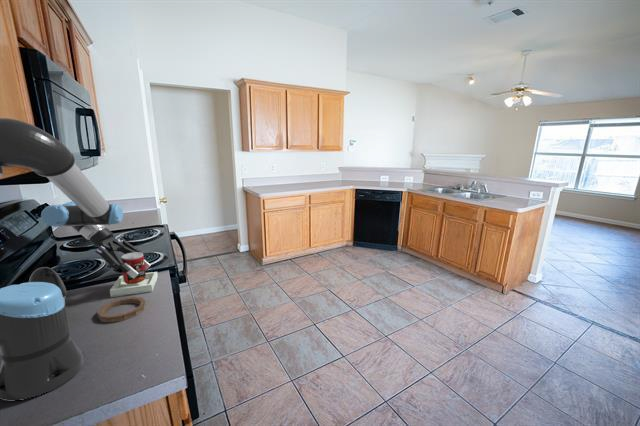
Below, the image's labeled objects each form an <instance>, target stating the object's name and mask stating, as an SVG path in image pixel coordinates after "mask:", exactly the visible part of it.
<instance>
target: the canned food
mask: <svg viewBox="0 0 640 426" xmlns="http://www.w3.org/2000/svg"><path fill="white" fill-rule="evenodd" d="M120 258H121V260H122V261H123V263H127V264H128V265H129V266H131V267H132V268H133V269H134V270H135V271H137V272H138V273H139V274H138V275H137V276H136V277H135V278H134V279H133V278H132V277H131V276H130V275H128V274H127V273H125V272H124V271H123V270H122V276H123V277H124V281H125V283H127V284H135V283H139V282H142V281H143V280H145V277H146V274H145V273H146V270H145V265H144V259H145V257H144V253H143V252H142V251H141V252H133V253H128V254H123V255H121V256H120Z"/></svg>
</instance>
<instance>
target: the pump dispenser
mask: <svg viewBox="0 0 640 426" xmlns="http://www.w3.org/2000/svg"><path fill="white" fill-rule="evenodd" d="M28 282H46V283H51V284H54V285H56V286H57V287H59V288H60V290H61V292H62V295H63V298H64V300H66V297H67V289H66V286H65V284H64V282H63V280H62V279H61V277H60V275H59V274H58V273H57V272H56V270H55V269H52V268H50V267H48V266H42V267H38V268H36V269H35V270H34V271H33V272H32V273H31V275H30V276H29V280H28Z"/></svg>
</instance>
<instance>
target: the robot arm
mask: <svg viewBox="0 0 640 426" xmlns="http://www.w3.org/2000/svg"><path fill="white" fill-rule="evenodd" d="M5 167H19V168H26V169H29V170H32V171H33V172H34V173H35V174H36V175H38V176H41V177H45V178H47V179H48V180H49V181H50V182H51V183H52V184H53V185H54V186H55V187H56V188H58V189H59V191H61V193H63V194H64V195H65V196H66V197H67V198H68V199H69V200H70V201H69V202H66V203H64V204H53V205H52V204H51V205H48V206H45V207H44V209H43V210H42V211H41V214H40V219H41V221H42V222H43V223H44V224H45V225H47V226H49V227H55V228H57V227H70V228H73V230H75V231H77V232H78V234H80V235H81V236H82V237H84V238H85V239H86V240H88V241H89V243H91V244H92V245H93V246H94V247H96V250H95V253H96V254H97V255H99V256H101V258H102V259H103V260H105V262H106V263H107V264H108V265H109V267H111V268H112V269H113V270H115V269H116V270H119V269H120V270H121V271H122V272H123V271H124V272H125V273H127V274H128V275H130V276H131V277H132V278H133V279H134V278H135V277H136V276H137V275H138V274H139V273H138V272H137V271H135V270H134V269H133V268H132V267H131V266H129V265H128V264H127V263H123V261H122V260H121V256H120V254H119V253H118V252H120V253H123V255H125V254H128V253H133V252H141V253H142V251H141V250H140V249H138V247H135V246H134V245H133V244H131V243H129V242H128V241H127V240H126V239H125V238H124V237H122V236H121V237H120V238H116V237H114V232H112V231H111V230H109V228H107V227H106V225H109V226H110V225H119V224H121V223H122V222H123V218H124V210H123V207H122V206H121V205H120V204H117V203H116V204H115V203H111V204H110V203H109V202H108V201H107V200H106V199H105V197H104V196H103V194H101V193H100V191H98V189H97V188H96V186H95V185H94V184H93V183H92V182H91V181H90V179H89V178H88V177H87V176H86V175H85V173H84V172H83V171H82V170H81V169H80V167H79V166H78V165H77V164H76V158H75V155H74V154H73V153H72V152H71V151H70V148H68V147H67V146H66V145H65V144H64V143H63V142H61V141H60V140H58V139H57V138H56V137H54V136H53V135H52V134H50V133H48V132H47V131H45V130H43V129H41V128H40V127H37V126H35V125H33V124H31V123H29V122H26V121H24V120H23V121H22V120H19V119H14V118H9V117H0V179H1V178H2V177H3V171H4V168H5ZM77 232H76V233H77ZM97 247H98V248H97ZM144 265H145V271H148V269H149V268H150V267H151V263H149V262H148V261H147V260H146V259H145V258H144ZM65 300H66V299H65ZM65 300H64V298H63V295H62V292H61V290H60V288H59V287H57V286H56V285H54V284H51V283H46V282H29V281H27V282H23V283H20V284H10V285H8V286H4V287H1V288H0V358H1V363H0V398H2V399H7V400H20V399H26V398H30V399H32V398H31V397H34V398H36V397H35V396H37V397H39V396H41V395H40V394H42V395H44V394H43V393H45V394H47V393H49V392H51V391H53V390H55V389H57V388H59V387H60V386H63V385H64V384H65V383H67V382H69V380H72V379H73V377H75V376H76V375H77V374H78V373H79V372H80V370H81V369H82V367H83V366H84V356H83V352H82V351H81V349H80V348H79V347H78V346H77V344H76V343H75V342H74V340H73V339H72V338H71V335H70V329H69V324H68V316H67V312H66V301H65ZM46 392H47V393H46ZM38 395H39V396H38Z"/></svg>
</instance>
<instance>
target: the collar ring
mask: <svg viewBox="0 0 640 426" xmlns="http://www.w3.org/2000/svg"><path fill="white" fill-rule="evenodd" d="M126 304H138V306H137V307H135V308H134V309H132V310H129V311H127V312H124V313H120V314H119V313H118V314H113V315H110V314H106V313H107V312H108V311H110V310H112V309H113V308H115V307H119V306H121V305H126ZM146 306H147V304H146V300H145V299H144V298H143V297H137V296H130V297H123V298H120V299H116V300H113V301H110V302H108V303H106V304H104V305H103V306H101V307H100V308H99V310H98V311H97V313H96V314H97V318H98V319H99V321H100V322H104V323H115V322H116V323H117V322H122V321H126V320H128V319H131V318H133V317H136V316H138V315H139V314H141V313H142V312H143V311H145V309H146Z"/></svg>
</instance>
